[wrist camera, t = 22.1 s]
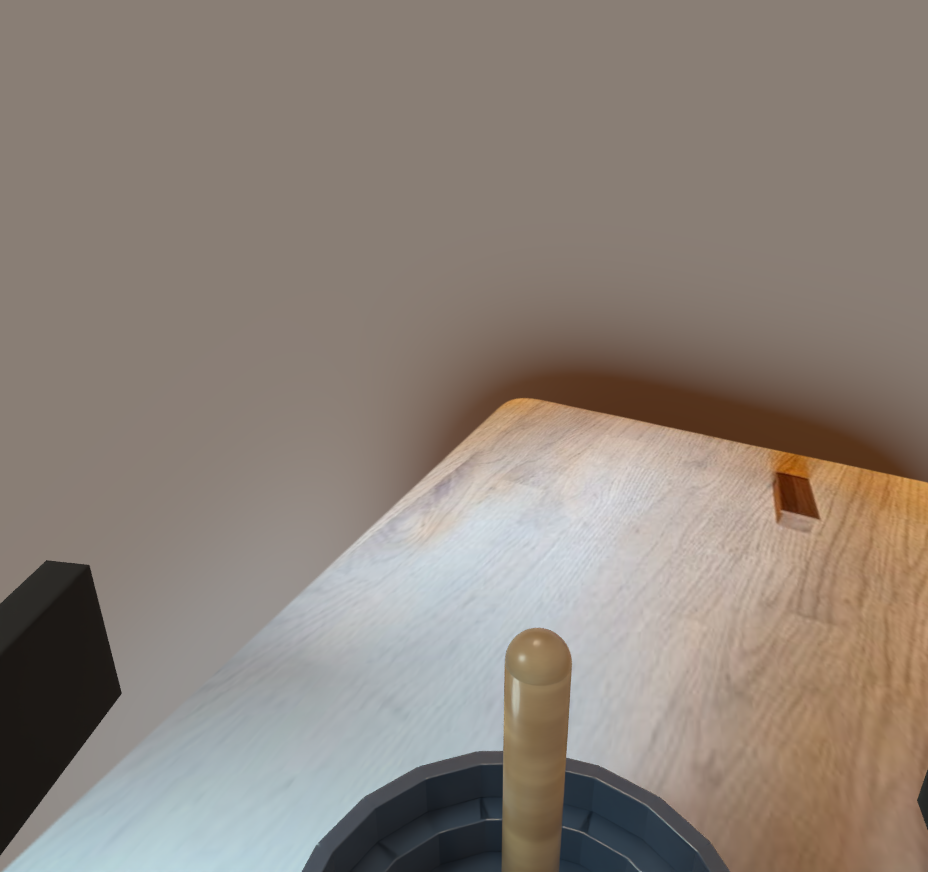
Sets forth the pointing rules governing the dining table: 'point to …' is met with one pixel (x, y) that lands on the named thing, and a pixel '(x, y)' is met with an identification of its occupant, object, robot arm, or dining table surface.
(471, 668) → the dining table surface
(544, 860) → the beech masher
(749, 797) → the dining table surface
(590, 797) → the dark grey round dish
